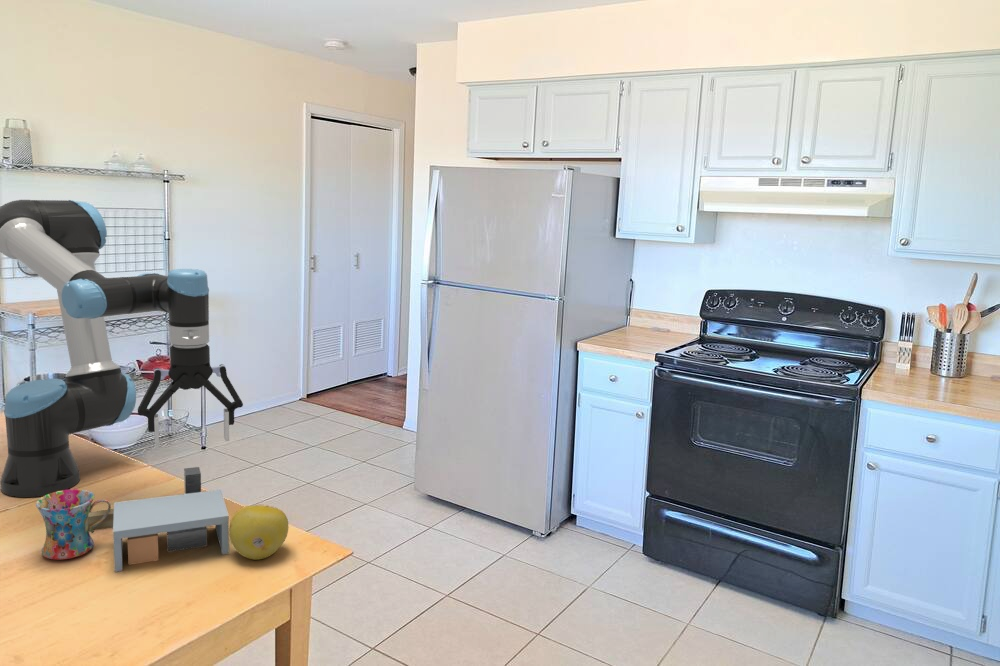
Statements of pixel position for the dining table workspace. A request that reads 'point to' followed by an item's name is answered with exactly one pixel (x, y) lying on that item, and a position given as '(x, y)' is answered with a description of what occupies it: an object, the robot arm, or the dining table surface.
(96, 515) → the l-shaped tan bracket
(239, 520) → the fruit
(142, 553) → the block
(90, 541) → the mug
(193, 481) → the grey piece
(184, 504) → the grey u-shaped bridge
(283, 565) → the dining table surface
